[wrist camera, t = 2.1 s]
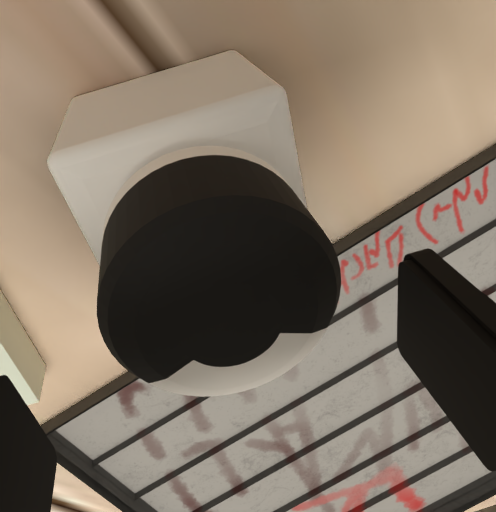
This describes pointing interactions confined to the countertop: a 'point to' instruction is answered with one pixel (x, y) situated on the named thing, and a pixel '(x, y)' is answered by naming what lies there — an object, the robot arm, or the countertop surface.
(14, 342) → the pale green square tray
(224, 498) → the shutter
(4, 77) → the countertop surface
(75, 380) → the countertop surface
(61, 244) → the countertop surface
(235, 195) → the medicine bottle
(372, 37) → the countertop surface
